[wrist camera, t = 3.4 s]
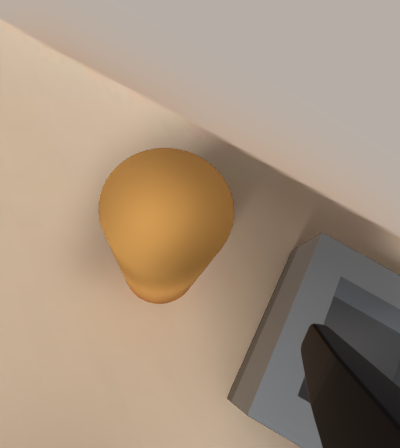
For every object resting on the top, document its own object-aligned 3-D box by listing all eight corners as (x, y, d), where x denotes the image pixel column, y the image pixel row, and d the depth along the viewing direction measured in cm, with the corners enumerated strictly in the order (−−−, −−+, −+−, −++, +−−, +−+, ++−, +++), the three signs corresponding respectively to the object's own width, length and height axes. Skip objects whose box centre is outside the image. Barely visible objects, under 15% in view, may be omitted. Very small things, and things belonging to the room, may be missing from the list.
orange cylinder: (132, 312, 18) (112, 289, 9) (118, 242, 20) (88, 159, 10) (203, 293, 19) (251, 255, 10) (185, 227, 21) (213, 139, 11)
